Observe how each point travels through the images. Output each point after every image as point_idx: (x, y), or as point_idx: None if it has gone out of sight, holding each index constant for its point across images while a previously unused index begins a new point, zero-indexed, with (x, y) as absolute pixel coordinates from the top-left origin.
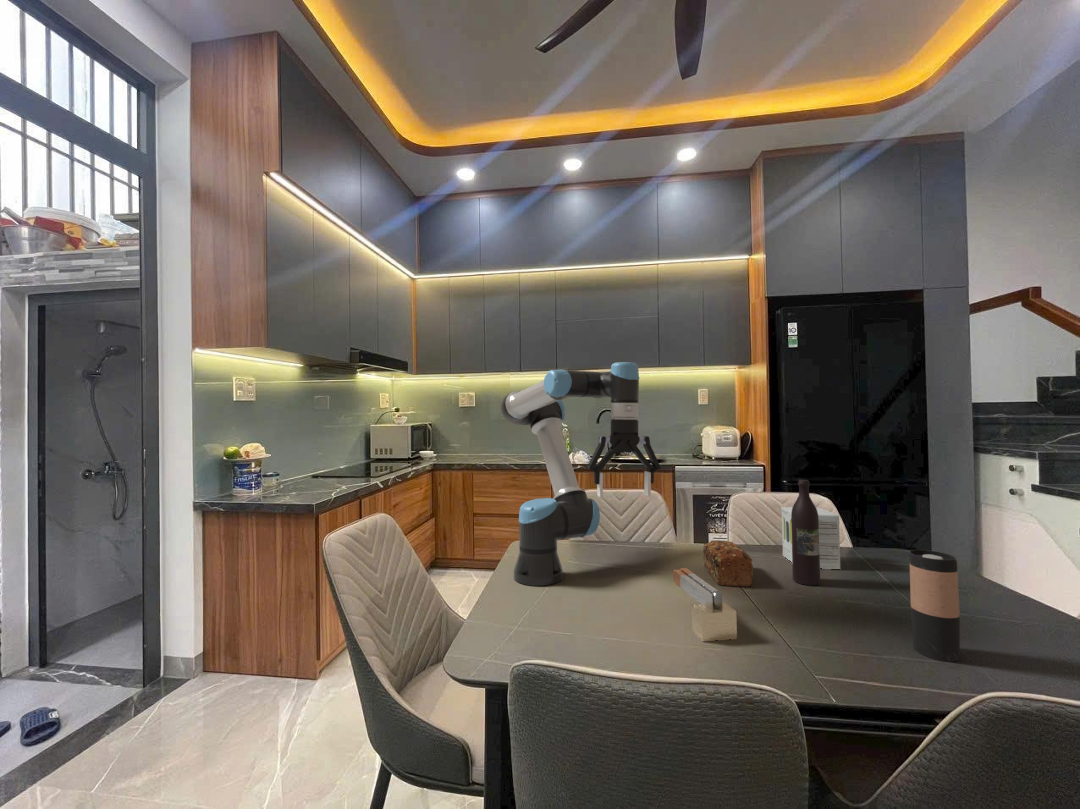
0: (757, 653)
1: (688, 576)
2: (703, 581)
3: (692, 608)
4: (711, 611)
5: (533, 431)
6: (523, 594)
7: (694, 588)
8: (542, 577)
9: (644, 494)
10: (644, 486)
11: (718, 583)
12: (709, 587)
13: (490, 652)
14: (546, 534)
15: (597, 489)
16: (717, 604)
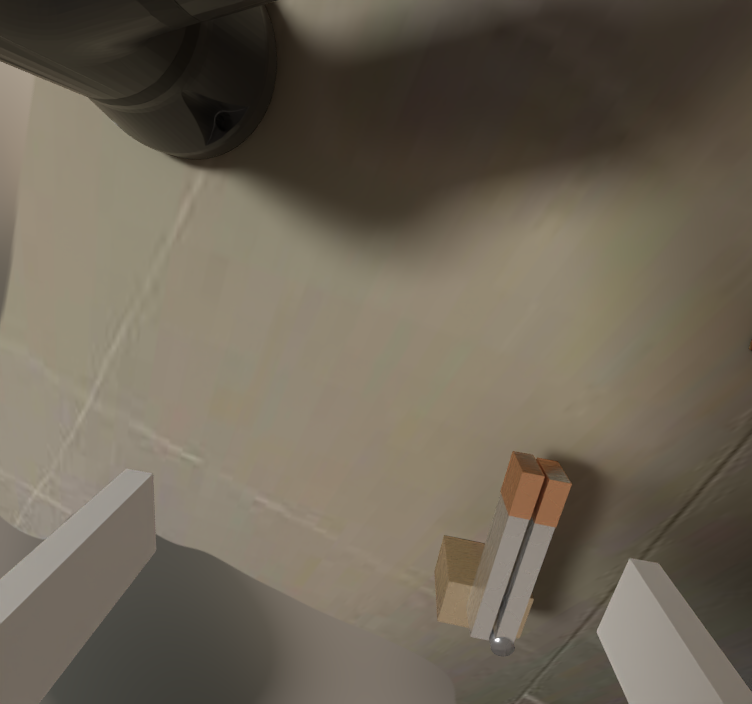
0: None
1: (531, 524)
2: (529, 585)
3: (447, 579)
4: (465, 620)
5: None
6: (120, 210)
7: (484, 584)
8: (170, 151)
9: (626, 565)
10: (681, 648)
11: (750, 346)
12: (510, 618)
13: (42, 473)
14: (65, 68)
15: (78, 518)
16: None
